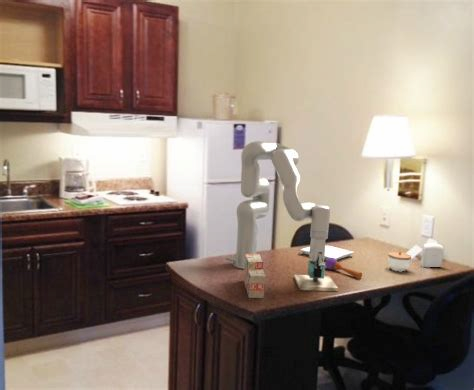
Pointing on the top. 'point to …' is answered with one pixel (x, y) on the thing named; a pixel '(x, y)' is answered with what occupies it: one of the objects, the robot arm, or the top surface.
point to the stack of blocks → (254, 276)
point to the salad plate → (331, 252)
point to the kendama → (334, 265)
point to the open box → (311, 269)
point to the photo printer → (432, 255)
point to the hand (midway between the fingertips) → (315, 274)
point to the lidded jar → (399, 261)
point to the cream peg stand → (315, 283)
